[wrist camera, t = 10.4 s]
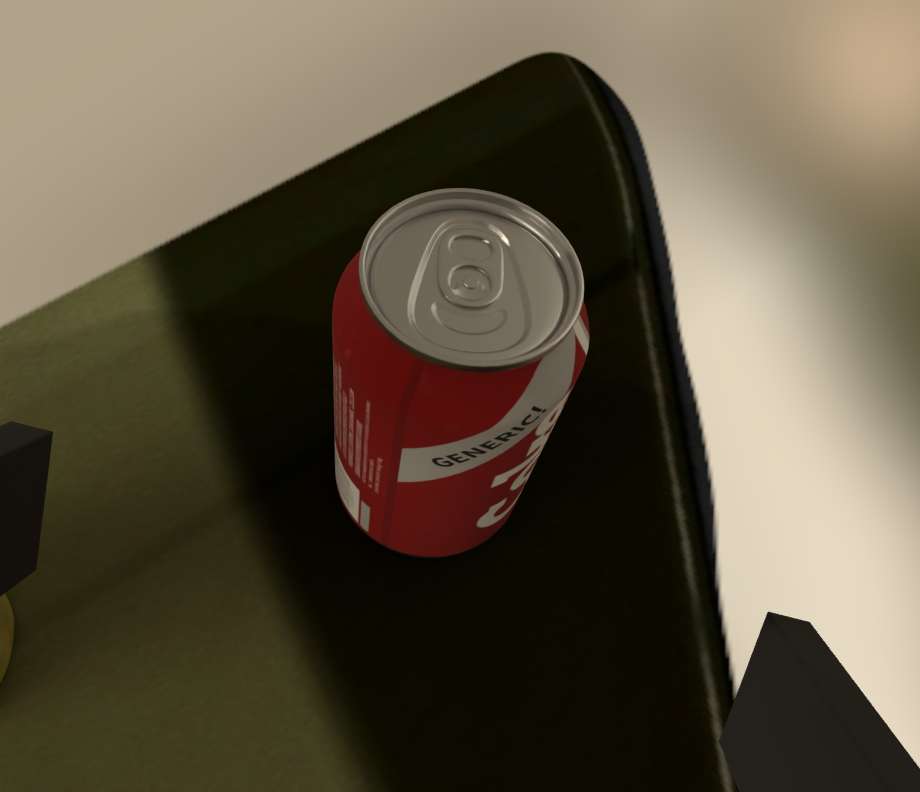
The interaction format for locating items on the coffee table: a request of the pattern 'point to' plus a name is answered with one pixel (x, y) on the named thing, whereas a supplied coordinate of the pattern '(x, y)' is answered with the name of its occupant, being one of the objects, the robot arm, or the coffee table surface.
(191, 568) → the coffee table surface
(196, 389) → the coffee table surface
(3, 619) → the vase
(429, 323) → the soda can
